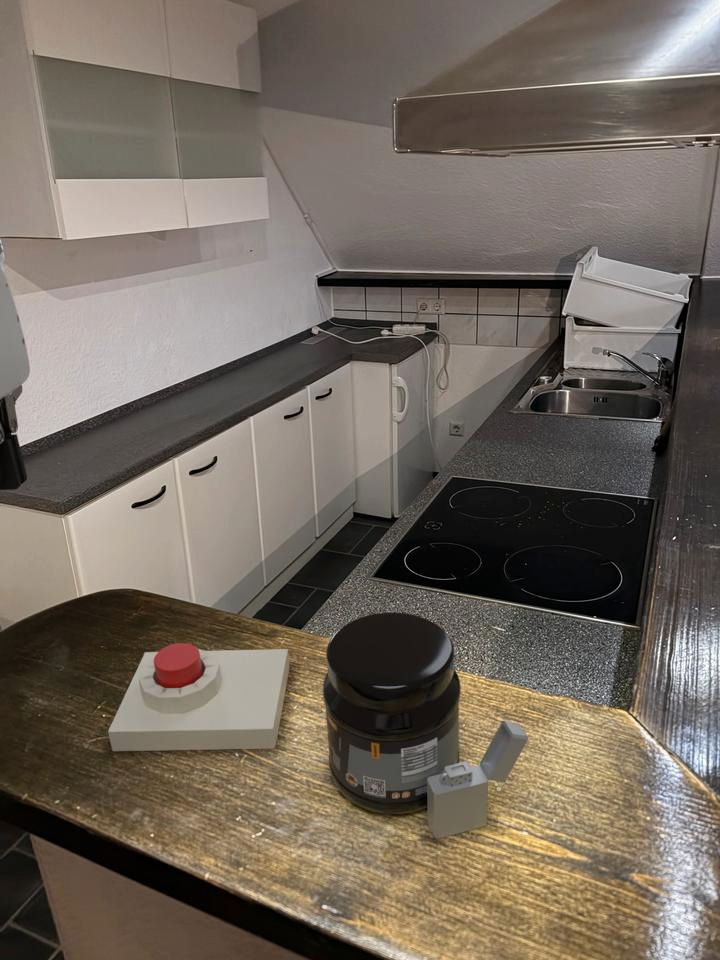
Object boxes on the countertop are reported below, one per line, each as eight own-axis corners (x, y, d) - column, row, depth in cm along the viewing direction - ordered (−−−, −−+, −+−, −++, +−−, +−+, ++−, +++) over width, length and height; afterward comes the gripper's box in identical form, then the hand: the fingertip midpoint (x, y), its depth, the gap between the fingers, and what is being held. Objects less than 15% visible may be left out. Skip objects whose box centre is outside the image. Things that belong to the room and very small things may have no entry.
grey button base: (112, 751, 65) (103, 714, 63) (148, 670, 75) (141, 636, 73) (275, 749, 64) (271, 711, 63) (289, 667, 74) (286, 633, 73)
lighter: (435, 839, 55) (434, 754, 52) (426, 821, 57) (425, 737, 54) (524, 815, 57) (529, 731, 54) (514, 798, 58) (518, 715, 55)
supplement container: (371, 709, 68) (366, 594, 63) (480, 750, 63) (483, 629, 58) (303, 788, 60) (290, 664, 55) (422, 843, 55) (420, 711, 50)
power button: (151, 690, 67) (148, 671, 66) (163, 661, 70) (160, 643, 69) (197, 689, 66) (193, 670, 66) (206, 660, 70) (203, 642, 69)
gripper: (-55, 235, 60) (0, 452, 67) (-184, 261, 46) (-97, 531, 53) (39, 230, 59) (84, 449, 67) (-63, 256, 46) (8, 528, 53)
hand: (3, 485), depth 60 cm, fingers closed
